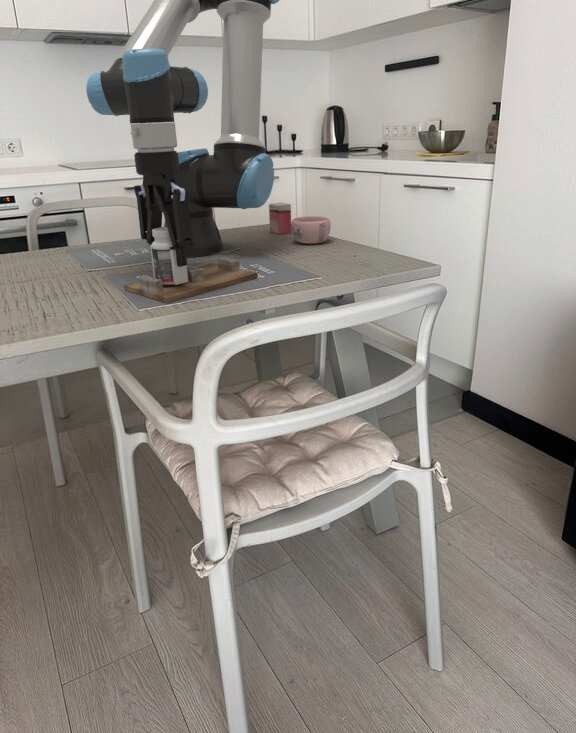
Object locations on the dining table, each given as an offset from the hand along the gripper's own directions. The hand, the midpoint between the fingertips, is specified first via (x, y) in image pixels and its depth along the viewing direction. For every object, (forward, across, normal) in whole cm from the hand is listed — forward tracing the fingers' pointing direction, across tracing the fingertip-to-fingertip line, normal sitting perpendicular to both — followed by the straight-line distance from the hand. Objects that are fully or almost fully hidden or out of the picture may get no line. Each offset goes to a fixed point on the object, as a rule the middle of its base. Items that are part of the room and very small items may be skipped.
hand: (170, 279), depth 109 cm
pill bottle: (+1, 0, 0) cm, 1 cm away
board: (+2, 0, +5) cm, 5 cm away
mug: (+2, -9, +49) cm, 50 cm away
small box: (+2, -24, +54) cm, 59 cm away
